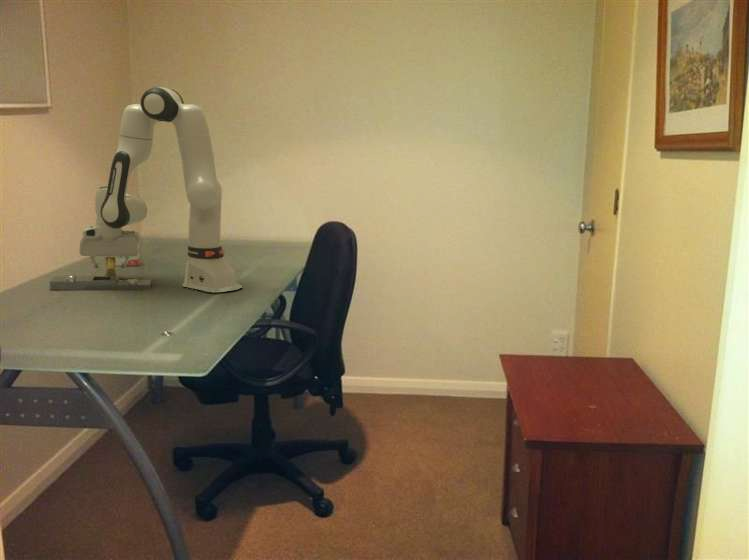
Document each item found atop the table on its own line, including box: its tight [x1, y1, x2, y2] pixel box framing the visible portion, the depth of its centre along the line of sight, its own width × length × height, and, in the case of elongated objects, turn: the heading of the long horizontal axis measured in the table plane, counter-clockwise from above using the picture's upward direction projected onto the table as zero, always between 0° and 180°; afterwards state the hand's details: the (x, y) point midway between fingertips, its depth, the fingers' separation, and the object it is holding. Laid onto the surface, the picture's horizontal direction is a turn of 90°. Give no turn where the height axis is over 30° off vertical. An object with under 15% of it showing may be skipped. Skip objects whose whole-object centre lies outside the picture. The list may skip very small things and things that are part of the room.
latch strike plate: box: [49, 274, 152, 291], centre depth 243 cm, size 32×8×4 cm, turn 105°
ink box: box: [115, 242, 140, 267], centre depth 279 cm, size 9×5×12 cm, turn 96°
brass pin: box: [104, 256, 118, 276], centre depth 255 cm, size 4×4×8 cm
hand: (110, 267), depth 255 cm, fingers open, 8 cm apart
